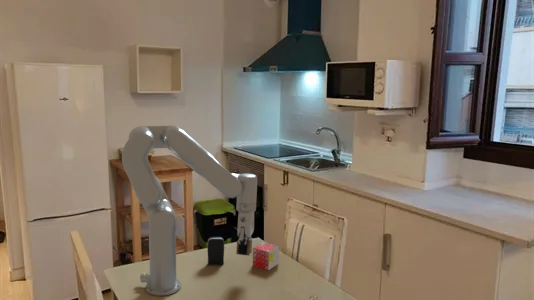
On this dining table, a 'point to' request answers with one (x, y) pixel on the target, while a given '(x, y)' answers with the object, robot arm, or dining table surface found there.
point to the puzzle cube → (265, 255)
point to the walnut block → (249, 246)
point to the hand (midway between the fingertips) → (244, 250)
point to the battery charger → (215, 250)
